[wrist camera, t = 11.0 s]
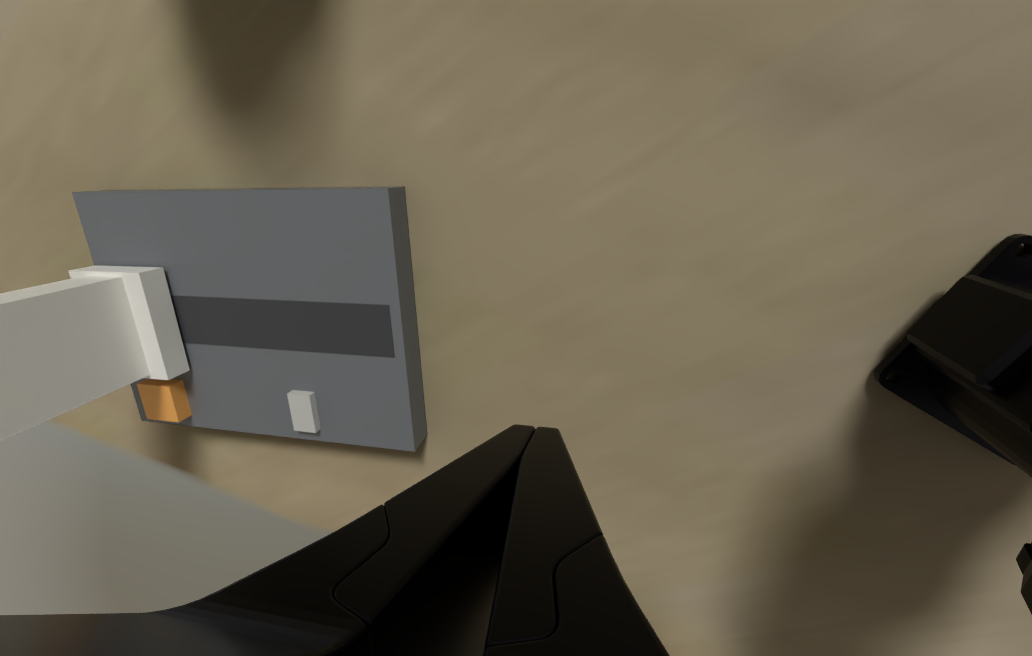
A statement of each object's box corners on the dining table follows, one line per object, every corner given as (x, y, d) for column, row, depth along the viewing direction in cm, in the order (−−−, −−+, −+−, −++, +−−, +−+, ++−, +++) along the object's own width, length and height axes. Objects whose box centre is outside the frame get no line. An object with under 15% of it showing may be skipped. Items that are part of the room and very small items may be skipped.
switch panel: (404, 186, 20) (378, 189, 18) (427, 435, 24) (407, 461, 22) (104, 190, 24) (52, 193, 22) (166, 407, 28) (127, 427, 26)
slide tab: (162, 267, 22) (-154, 338, 13) (189, 370, 24) (-76, 495, 15) (94, 265, 23) (-246, 331, 14) (125, 364, 25) (-162, 480, 16)
